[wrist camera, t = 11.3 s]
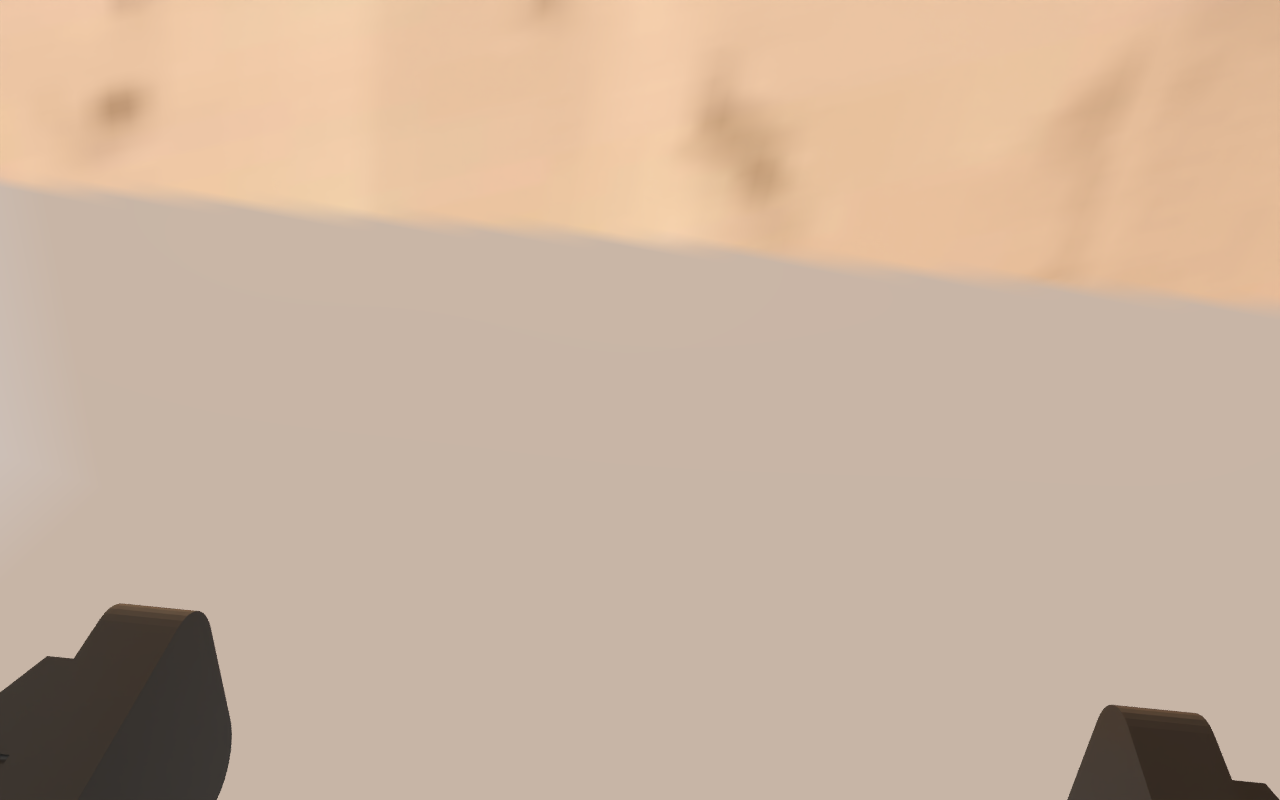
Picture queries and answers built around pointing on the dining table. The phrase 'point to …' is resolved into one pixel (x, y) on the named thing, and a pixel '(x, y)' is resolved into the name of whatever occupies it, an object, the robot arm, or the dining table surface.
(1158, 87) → the dining table surface
